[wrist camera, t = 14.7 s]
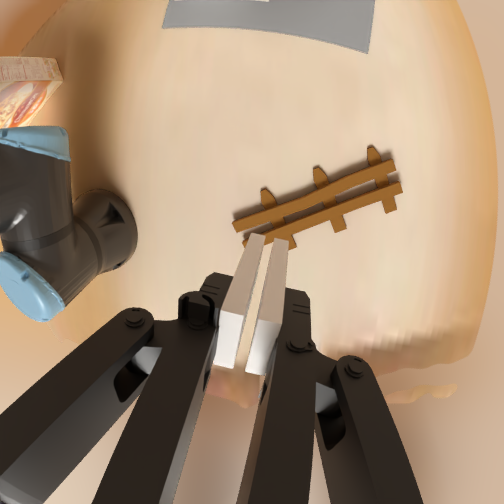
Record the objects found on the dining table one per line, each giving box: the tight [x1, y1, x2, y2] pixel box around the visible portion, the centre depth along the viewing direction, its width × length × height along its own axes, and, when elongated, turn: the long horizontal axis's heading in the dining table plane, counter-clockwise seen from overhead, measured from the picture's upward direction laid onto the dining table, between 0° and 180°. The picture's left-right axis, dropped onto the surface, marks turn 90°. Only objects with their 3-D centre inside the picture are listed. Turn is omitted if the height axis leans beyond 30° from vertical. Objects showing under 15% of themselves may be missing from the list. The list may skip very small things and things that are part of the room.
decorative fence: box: [232, 147, 403, 250], centre depth 39 cm, size 25×2×10 cm
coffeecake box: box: [0, 57, 64, 128], centre depth 28 cm, size 15×7×20 cm, turn 117°
